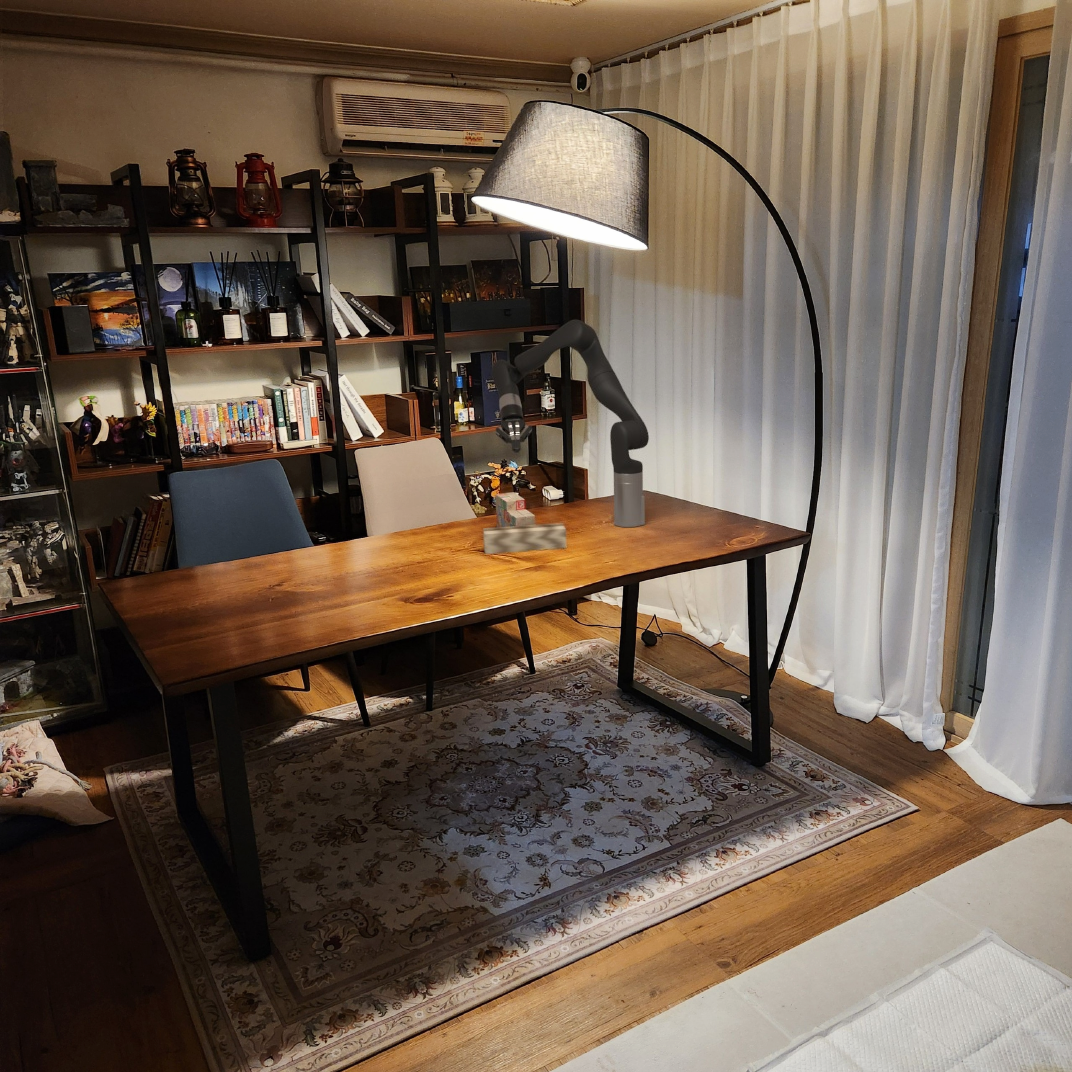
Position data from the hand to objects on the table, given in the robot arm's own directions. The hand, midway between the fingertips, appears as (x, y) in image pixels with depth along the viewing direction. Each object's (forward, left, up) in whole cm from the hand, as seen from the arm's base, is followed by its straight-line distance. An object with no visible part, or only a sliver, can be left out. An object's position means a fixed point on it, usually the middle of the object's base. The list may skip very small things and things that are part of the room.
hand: (516, 451), depth 307 cm
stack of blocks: (+4, +28, -22) cm, 36 cm away
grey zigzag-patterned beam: (+3, +41, -22) cm, 47 cm away
